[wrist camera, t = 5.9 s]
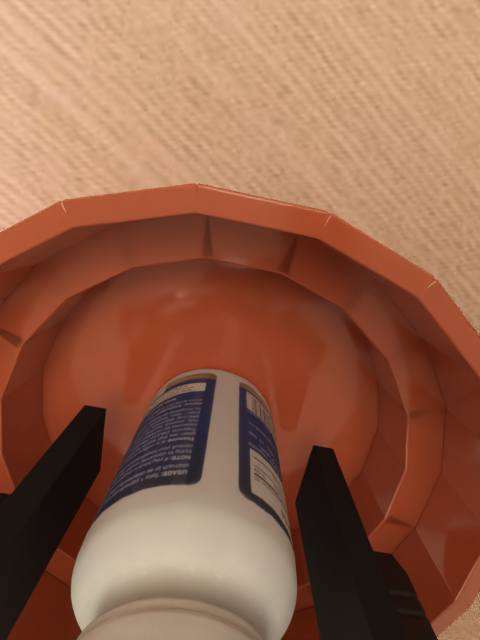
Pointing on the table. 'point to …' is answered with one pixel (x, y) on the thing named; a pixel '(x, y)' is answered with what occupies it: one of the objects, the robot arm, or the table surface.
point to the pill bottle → (192, 524)
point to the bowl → (247, 367)
